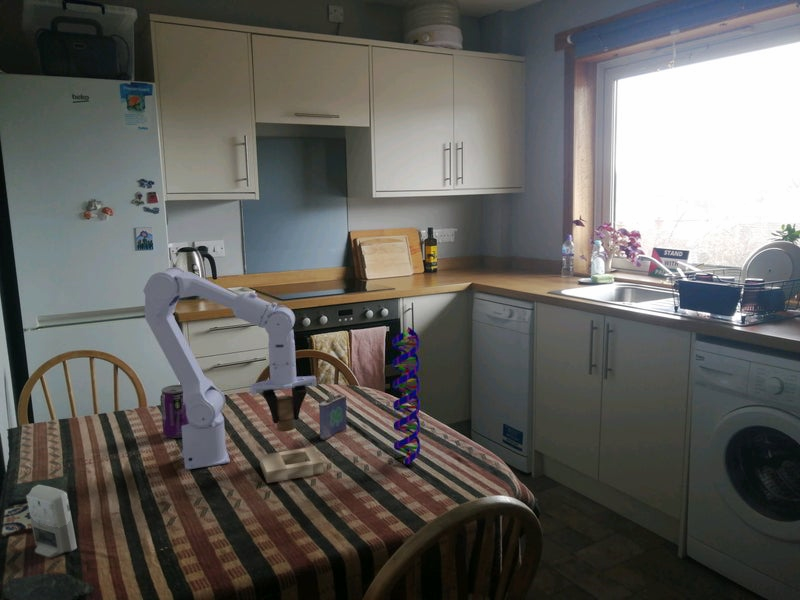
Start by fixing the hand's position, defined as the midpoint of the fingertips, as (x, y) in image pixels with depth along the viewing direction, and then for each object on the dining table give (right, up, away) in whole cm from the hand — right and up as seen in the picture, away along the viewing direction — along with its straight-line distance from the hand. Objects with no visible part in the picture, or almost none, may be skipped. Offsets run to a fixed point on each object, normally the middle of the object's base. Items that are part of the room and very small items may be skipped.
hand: (285, 420), depth 143 cm
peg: (0, -2, 0) cm, 2 cm away
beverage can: (-30, -7, +17) cm, 35 cm away
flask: (+9, -7, +16) cm, 19 cm away
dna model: (+27, -9, -1) cm, 29 cm away
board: (+2, -10, -5) cm, 11 cm away
